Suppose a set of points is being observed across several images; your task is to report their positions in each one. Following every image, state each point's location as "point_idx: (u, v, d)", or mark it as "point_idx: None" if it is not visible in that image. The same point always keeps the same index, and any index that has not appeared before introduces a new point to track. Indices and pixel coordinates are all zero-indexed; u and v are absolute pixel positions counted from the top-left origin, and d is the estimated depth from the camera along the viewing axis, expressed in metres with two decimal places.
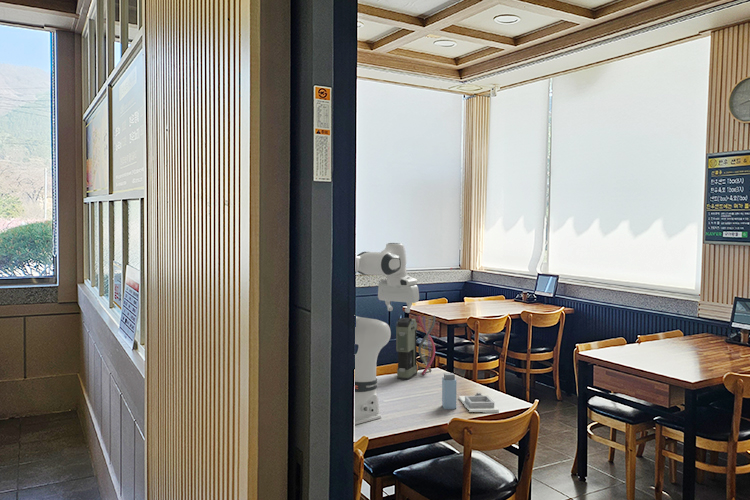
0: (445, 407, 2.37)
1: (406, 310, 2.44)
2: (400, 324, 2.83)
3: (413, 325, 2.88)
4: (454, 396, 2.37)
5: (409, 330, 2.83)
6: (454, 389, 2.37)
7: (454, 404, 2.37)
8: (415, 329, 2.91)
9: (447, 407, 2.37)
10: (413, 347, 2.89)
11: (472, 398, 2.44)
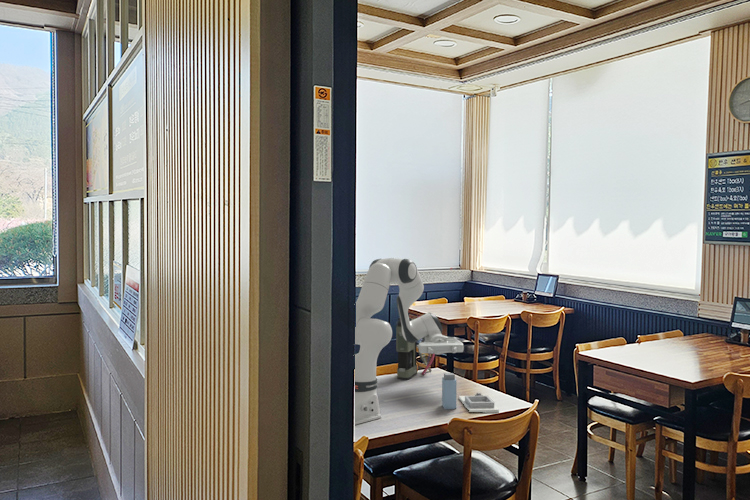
0: (445, 407, 2.37)
1: (454, 348, 2.53)
2: (400, 324, 2.83)
3: None
4: (454, 396, 2.37)
5: None
6: (454, 389, 2.37)
7: (454, 404, 2.37)
8: None
9: (447, 407, 2.37)
10: (413, 347, 2.89)
11: (472, 398, 2.44)
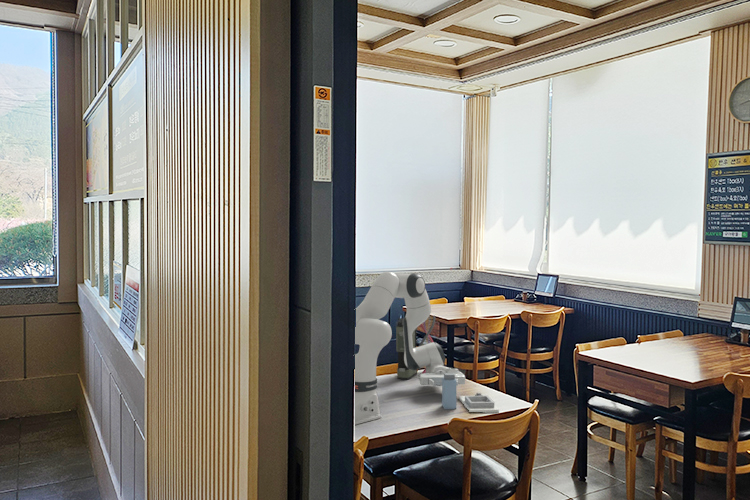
0: (445, 407, 2.37)
1: None
2: (400, 324, 2.83)
3: None
4: (454, 396, 2.37)
5: None
6: (454, 389, 2.37)
7: (454, 404, 2.37)
8: (415, 329, 2.91)
9: (447, 407, 2.37)
10: (413, 347, 2.89)
11: (472, 398, 2.44)
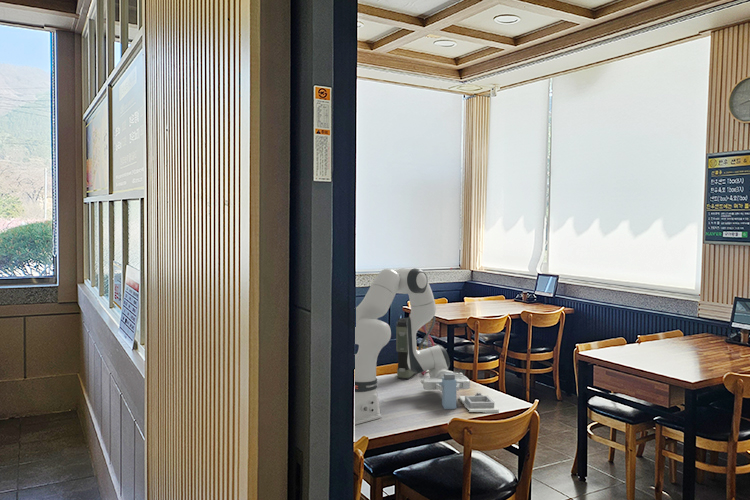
0: (445, 407, 2.37)
1: (456, 385, 2.40)
2: (400, 324, 2.83)
3: None
4: (454, 396, 2.37)
5: None
6: (454, 389, 2.37)
7: (454, 404, 2.37)
8: None
9: (447, 407, 2.37)
10: None
11: (472, 398, 2.44)
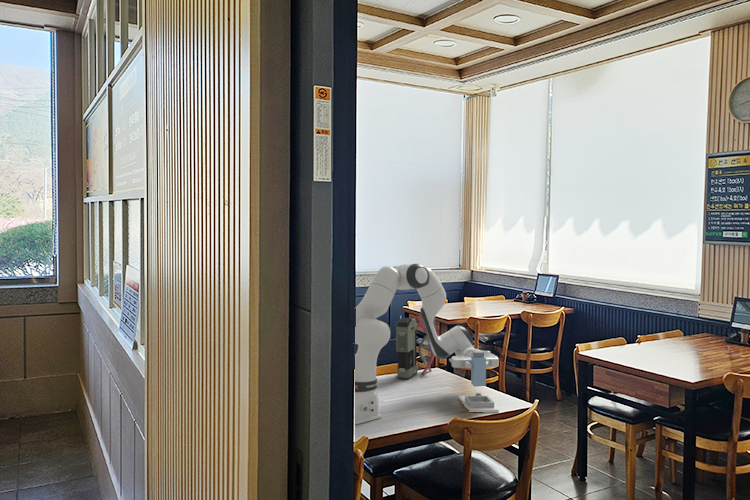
0: (475, 384, 2.38)
1: (486, 363, 2.40)
2: (400, 324, 2.83)
3: (413, 325, 2.88)
4: (484, 373, 2.38)
5: (409, 330, 2.83)
6: (484, 366, 2.38)
7: (484, 381, 2.38)
8: (415, 329, 2.91)
9: (477, 384, 2.38)
10: (413, 347, 2.89)
11: (472, 398, 2.44)
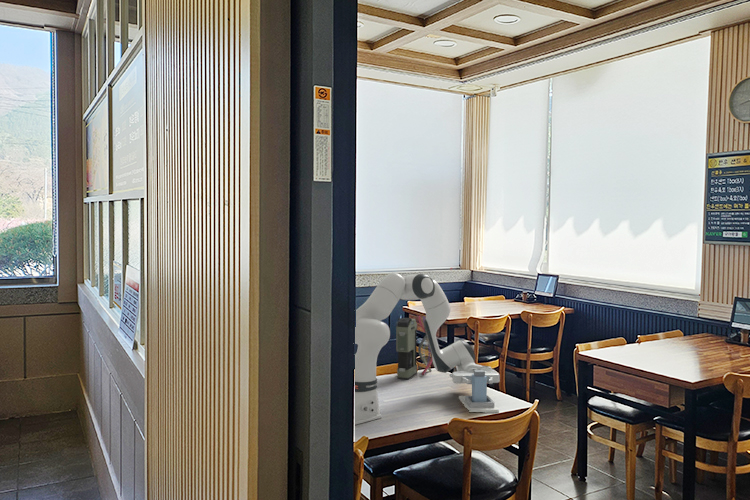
0: None
1: (490, 379, 2.40)
2: (400, 324, 2.83)
3: (413, 325, 2.88)
4: (484, 393, 2.38)
5: (409, 330, 2.83)
6: (484, 386, 2.38)
7: (484, 401, 2.38)
8: (415, 329, 2.91)
9: None
10: (413, 347, 2.89)
11: None
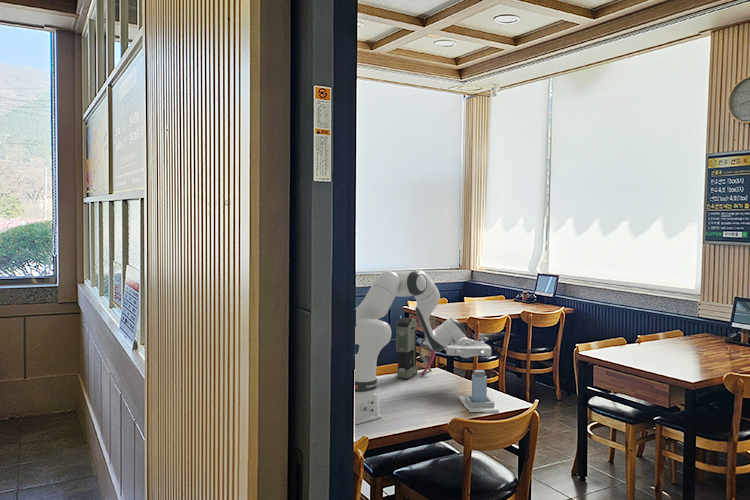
0: None
1: (482, 351, 2.53)
2: (400, 324, 2.83)
3: (413, 325, 2.88)
4: (484, 393, 2.38)
5: (409, 330, 2.83)
6: (484, 386, 2.38)
7: (484, 401, 2.38)
8: (415, 329, 2.91)
9: None
10: (413, 347, 2.89)
11: None
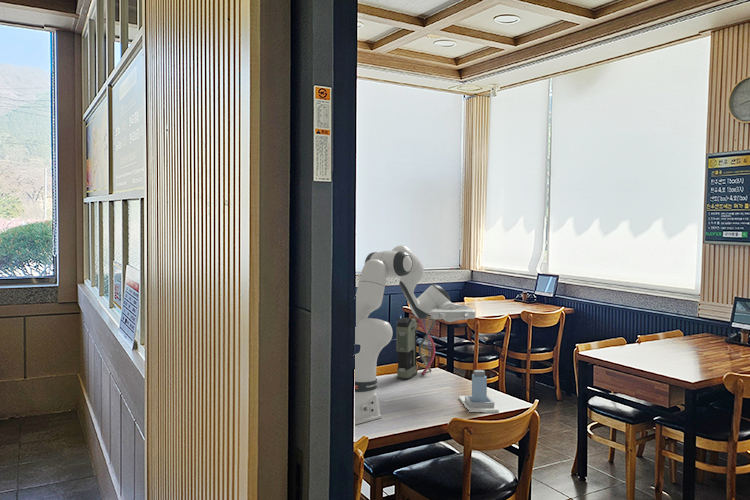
0: None
1: (466, 314, 2.54)
2: (400, 324, 2.83)
3: (413, 325, 2.88)
4: (484, 393, 2.38)
5: (409, 330, 2.83)
6: (484, 386, 2.38)
7: (484, 401, 2.38)
8: (415, 329, 2.91)
9: None
10: (413, 347, 2.89)
11: None
